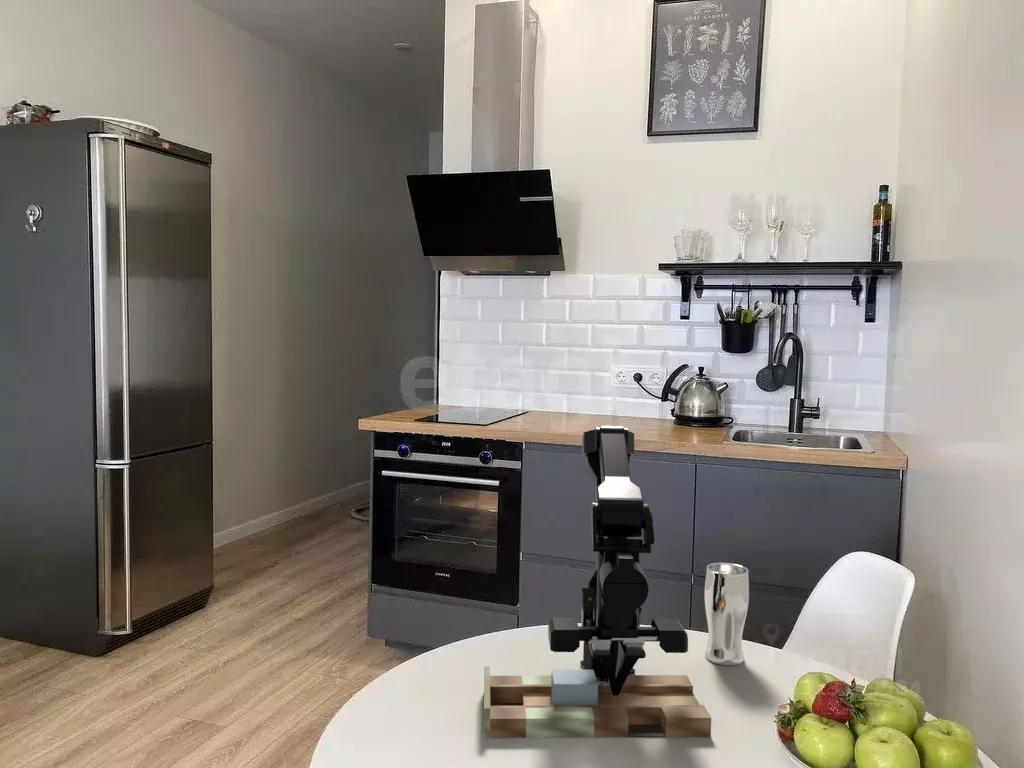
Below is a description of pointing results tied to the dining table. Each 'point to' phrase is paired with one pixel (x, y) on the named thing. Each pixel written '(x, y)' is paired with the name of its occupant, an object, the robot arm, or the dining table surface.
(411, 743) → the dining table surface
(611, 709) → the tray
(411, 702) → the dining table surface
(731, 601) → the beer glass
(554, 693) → the block
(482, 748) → the dining table surface
